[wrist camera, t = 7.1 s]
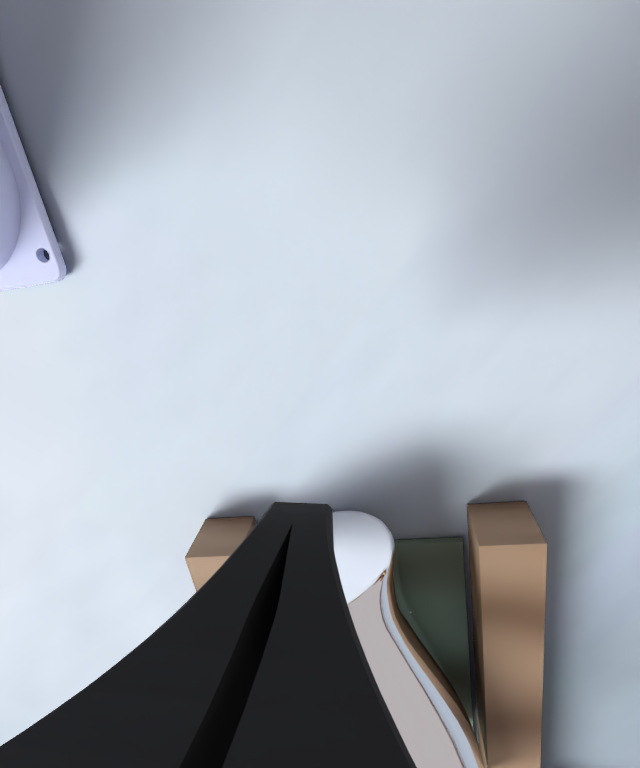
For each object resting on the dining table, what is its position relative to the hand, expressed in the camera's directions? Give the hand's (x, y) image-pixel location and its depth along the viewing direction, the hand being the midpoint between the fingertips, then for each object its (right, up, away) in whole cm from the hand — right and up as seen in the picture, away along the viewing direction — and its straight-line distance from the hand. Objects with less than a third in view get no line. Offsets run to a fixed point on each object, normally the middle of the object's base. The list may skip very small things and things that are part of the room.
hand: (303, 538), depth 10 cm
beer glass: (0, -3, +7) cm, 8 cm away
